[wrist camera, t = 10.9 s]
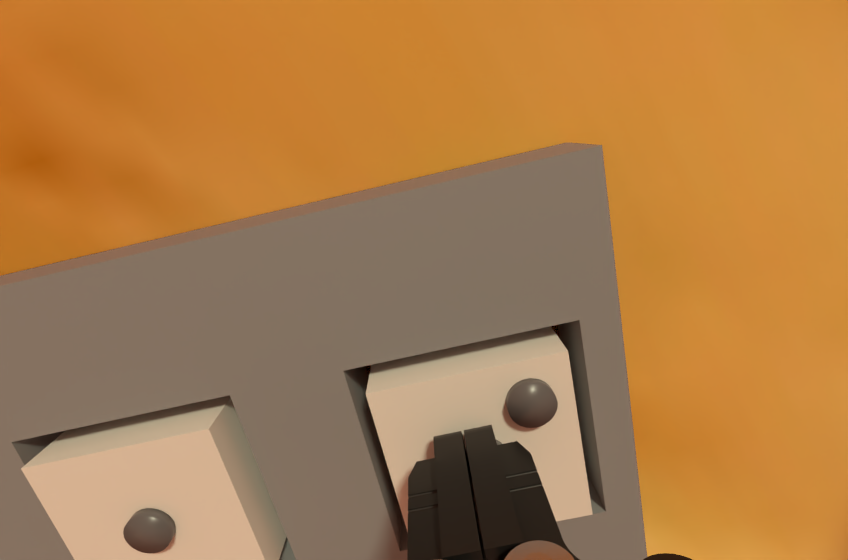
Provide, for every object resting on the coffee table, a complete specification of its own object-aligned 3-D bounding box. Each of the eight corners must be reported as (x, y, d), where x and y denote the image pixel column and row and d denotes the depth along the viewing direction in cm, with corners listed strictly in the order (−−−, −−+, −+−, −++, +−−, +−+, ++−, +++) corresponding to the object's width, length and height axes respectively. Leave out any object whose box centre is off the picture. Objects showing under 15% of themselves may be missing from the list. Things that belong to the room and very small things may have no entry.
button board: (566, 142, 13) (601, 145, 10) (619, 539, 17) (652, 607, 14) (-296, 345, 14) (-442, 389, 12) (-52, 667, 18) (-122, 747, 16)
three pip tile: (537, 306, 14) (572, 356, 11) (560, 444, 16) (596, 523, 12) (375, 341, 14) (364, 400, 11) (413, 473, 16) (412, 558, 13)
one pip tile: (249, 370, 15) (203, 436, 11) (298, 498, 16) (270, 588, 13) (97, 403, 15) (11, 476, 12) (159, 526, 16) (97, 621, 13)
